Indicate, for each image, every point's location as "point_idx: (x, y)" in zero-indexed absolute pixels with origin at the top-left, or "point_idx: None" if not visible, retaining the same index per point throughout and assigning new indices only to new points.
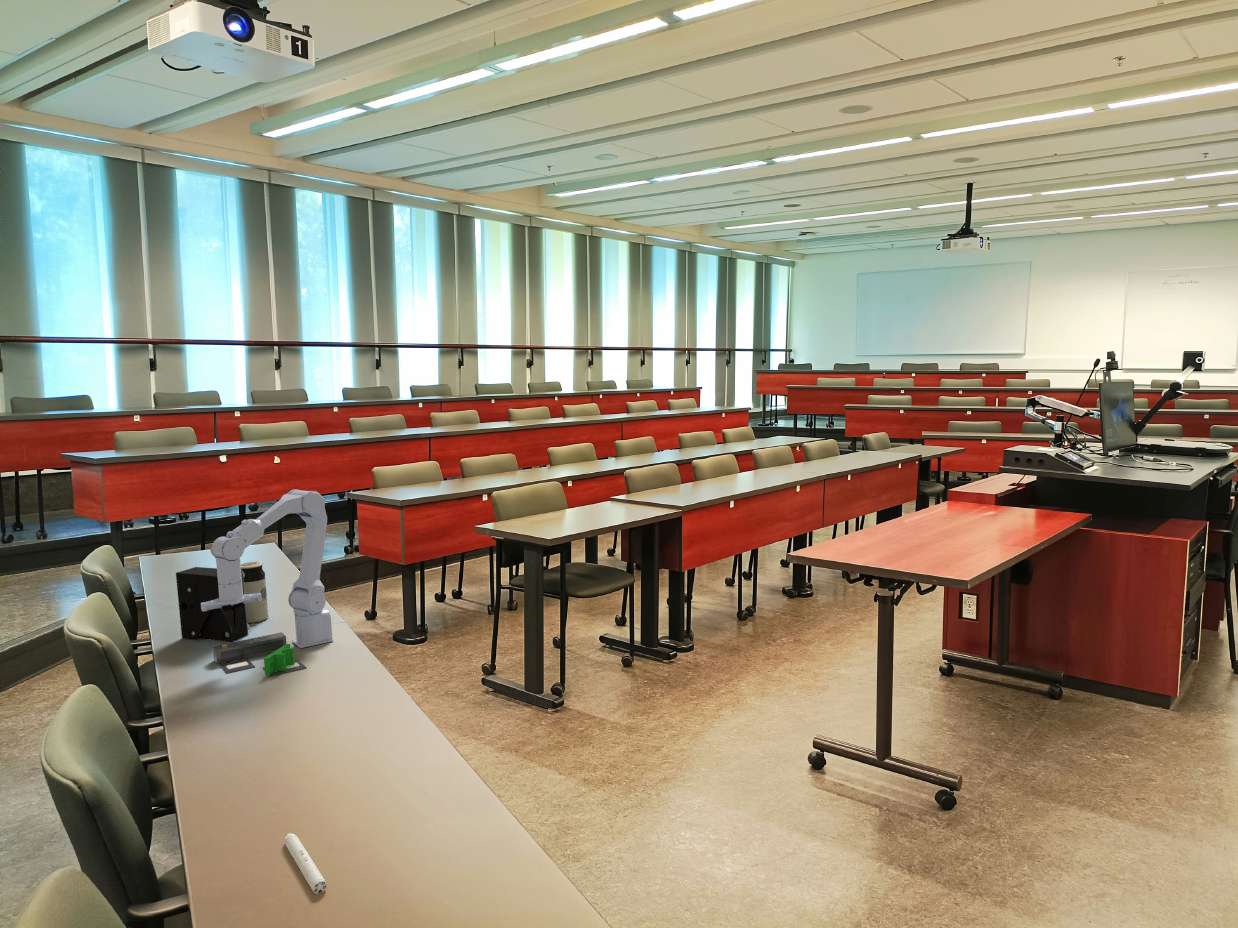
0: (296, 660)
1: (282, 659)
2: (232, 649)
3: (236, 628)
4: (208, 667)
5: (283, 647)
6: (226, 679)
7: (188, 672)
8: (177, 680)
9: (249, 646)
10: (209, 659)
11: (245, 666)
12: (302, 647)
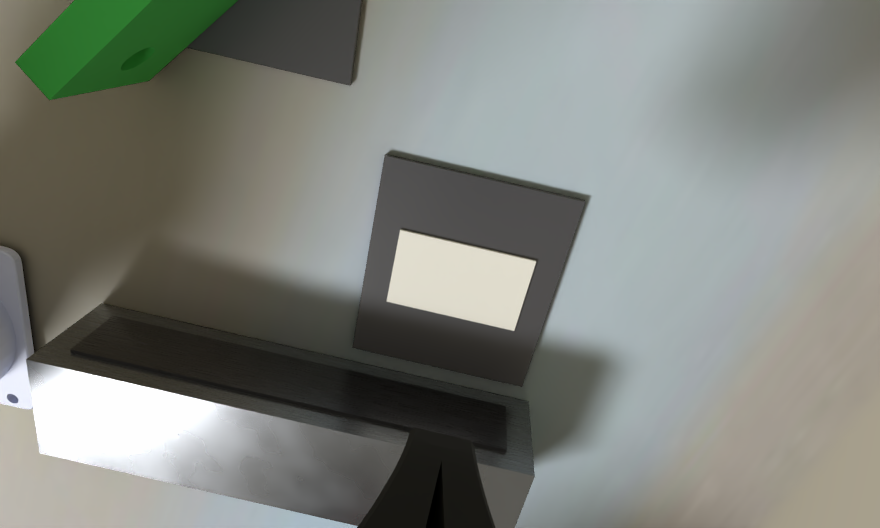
0: None
1: None
2: None
3: (424, 462)
4: (586, 404)
5: (96, 1)
6: (658, 70)
7: (707, 420)
8: (844, 348)
9: (307, 406)
10: None
11: (431, 215)
12: (1, 246)
